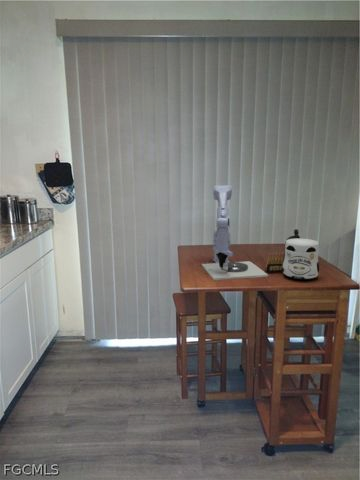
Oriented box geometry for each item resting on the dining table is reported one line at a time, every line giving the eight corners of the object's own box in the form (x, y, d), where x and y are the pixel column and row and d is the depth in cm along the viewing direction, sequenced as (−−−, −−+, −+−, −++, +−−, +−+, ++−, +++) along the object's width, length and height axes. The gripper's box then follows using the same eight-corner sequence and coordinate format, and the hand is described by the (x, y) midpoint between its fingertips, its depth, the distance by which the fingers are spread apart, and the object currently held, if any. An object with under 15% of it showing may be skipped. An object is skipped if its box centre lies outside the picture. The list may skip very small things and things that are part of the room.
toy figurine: (303, 263, 215) (299, 249, 238) (305, 232, 210) (301, 221, 233) (286, 263, 217) (284, 249, 240) (288, 231, 211) (285, 220, 235)
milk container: (293, 283, 176) (295, 246, 172) (275, 273, 193) (277, 239, 189) (325, 280, 180) (328, 244, 176) (306, 270, 196) (308, 237, 193)
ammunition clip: (265, 272, 194) (268, 252, 188) (264, 270, 196) (267, 250, 190) (285, 271, 195) (289, 252, 189) (284, 269, 196) (288, 250, 190)
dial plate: (201, 265, 208) (201, 263, 207) (250, 262, 212) (250, 261, 212) (213, 280, 182) (213, 278, 182) (268, 276, 187) (268, 274, 187)
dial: (228, 263, 208) (229, 253, 207) (252, 267, 200) (252, 257, 199) (212, 271, 193) (212, 261, 192) (236, 275, 185) (236, 265, 184)
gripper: (208, 239, 192) (207, 264, 195) (224, 244, 180) (224, 271, 183) (219, 237, 196) (219, 262, 199) (236, 243, 183) (235, 269, 186)
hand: (222, 267), depth 191 cm, fingers closed, pressing on dial
